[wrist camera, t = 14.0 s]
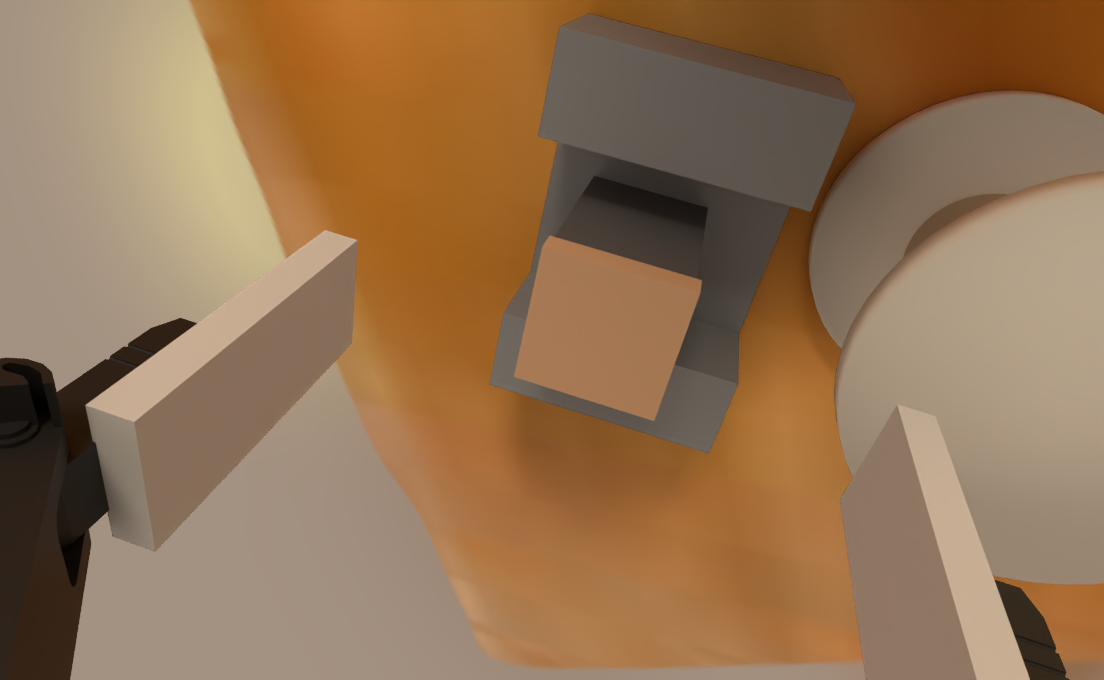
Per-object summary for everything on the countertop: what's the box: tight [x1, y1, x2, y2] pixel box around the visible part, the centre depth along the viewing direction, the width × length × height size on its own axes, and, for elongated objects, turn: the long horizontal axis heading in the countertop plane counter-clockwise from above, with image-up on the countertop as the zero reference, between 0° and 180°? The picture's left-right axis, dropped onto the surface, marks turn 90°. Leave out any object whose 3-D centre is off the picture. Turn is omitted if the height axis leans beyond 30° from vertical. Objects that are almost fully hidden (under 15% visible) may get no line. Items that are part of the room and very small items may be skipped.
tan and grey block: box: [514, 176, 708, 421], centre depth 22 cm, size 4×4×7 cm
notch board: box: [490, 14, 856, 453], centre depth 23 cm, size 12×8×4 cm, turn 168°
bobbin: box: [808, 90, 1104, 584], centre depth 19 cm, size 10×10×10 cm
